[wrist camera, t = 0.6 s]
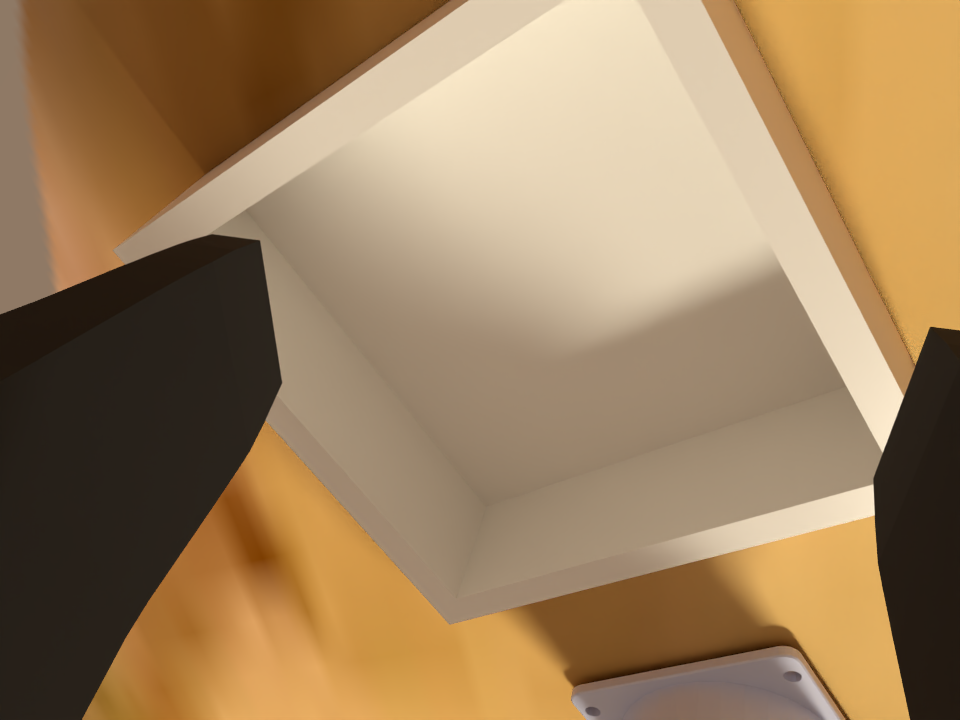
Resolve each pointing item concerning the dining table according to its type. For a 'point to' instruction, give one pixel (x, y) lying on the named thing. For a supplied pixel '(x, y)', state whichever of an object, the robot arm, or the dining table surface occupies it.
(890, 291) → the dining table surface
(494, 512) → the bin
